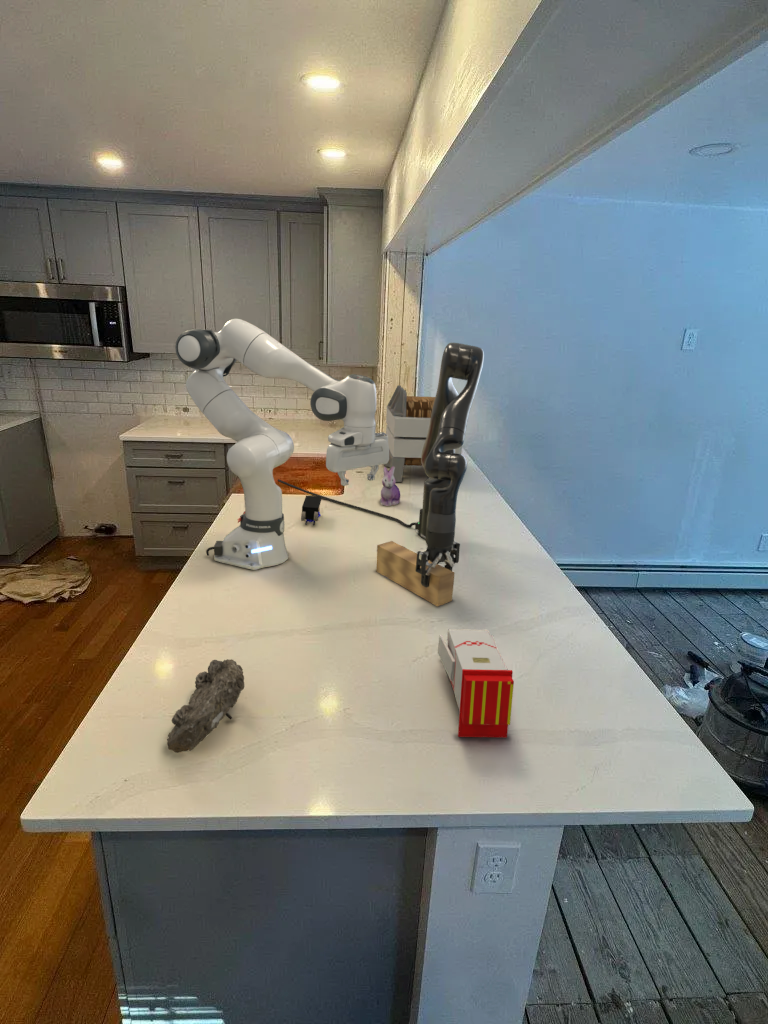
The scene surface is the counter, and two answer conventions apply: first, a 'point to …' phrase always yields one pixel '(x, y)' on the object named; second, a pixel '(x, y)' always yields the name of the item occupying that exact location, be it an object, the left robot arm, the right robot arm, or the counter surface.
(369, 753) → the counter surface
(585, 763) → the counter surface
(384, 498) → the figurine
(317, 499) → the figurine character
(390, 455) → the grey wooden crate
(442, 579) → the bar
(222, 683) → the fossil
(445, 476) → the right robot arm
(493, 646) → the toy
